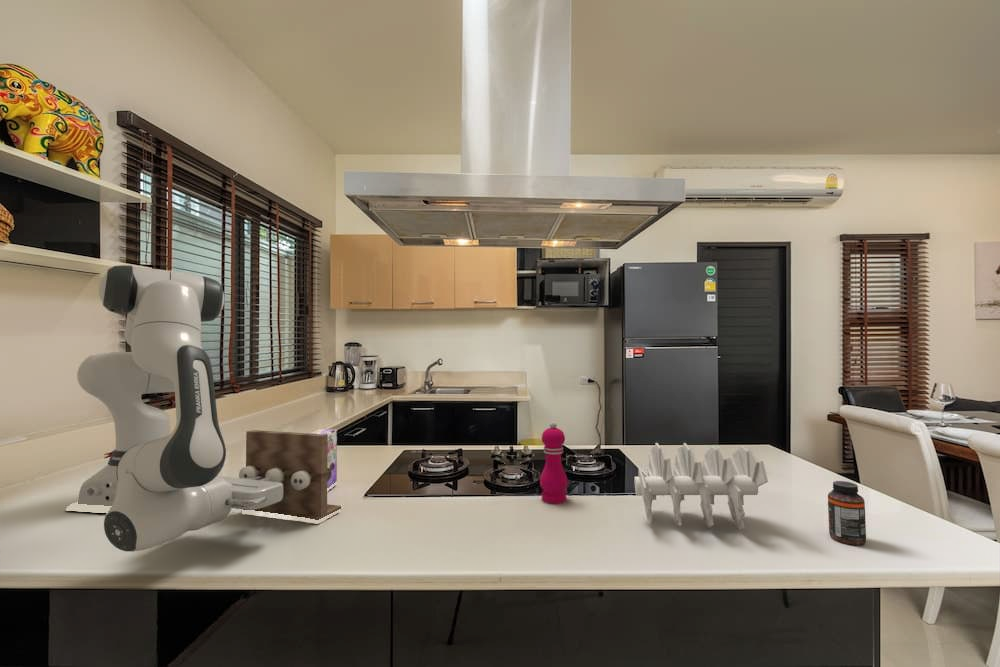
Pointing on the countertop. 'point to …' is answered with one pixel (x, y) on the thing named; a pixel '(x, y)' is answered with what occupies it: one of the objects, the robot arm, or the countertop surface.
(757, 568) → the countertop surface
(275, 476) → the plain button
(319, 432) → the candy box
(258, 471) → the one dot button
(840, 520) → the supplement bottle
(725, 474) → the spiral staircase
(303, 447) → the button panel
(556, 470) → the pepper mill
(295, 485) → the two dot button
